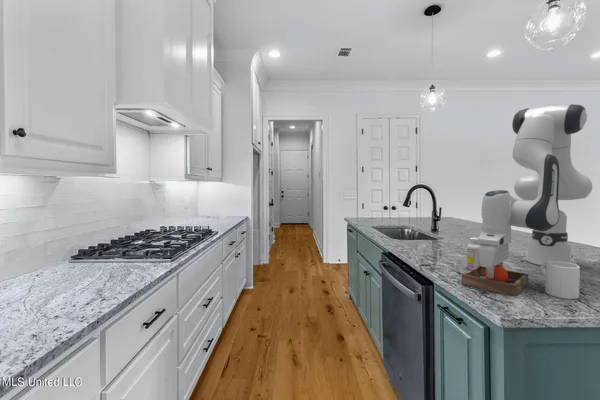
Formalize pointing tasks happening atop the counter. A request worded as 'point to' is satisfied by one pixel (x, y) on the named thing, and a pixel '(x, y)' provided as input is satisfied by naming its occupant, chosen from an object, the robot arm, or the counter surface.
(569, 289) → the mug
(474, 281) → the wooden frame
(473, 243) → the supplement bottle
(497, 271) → the clementine
